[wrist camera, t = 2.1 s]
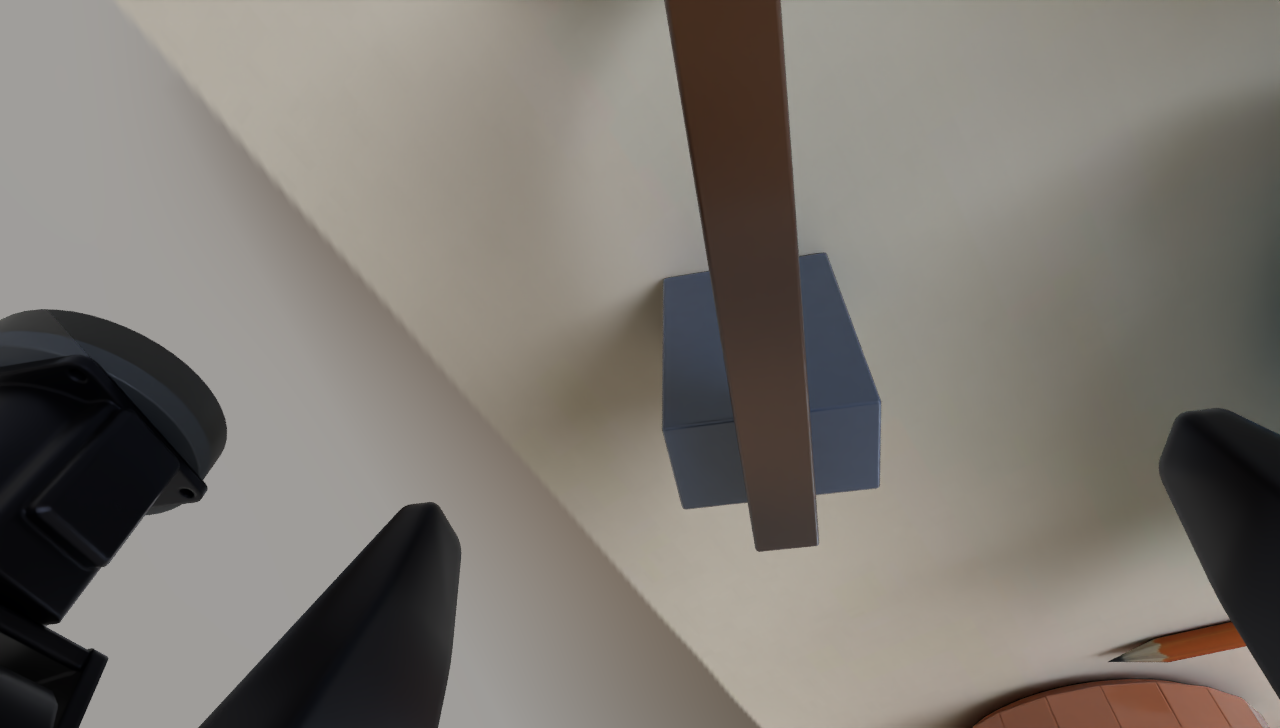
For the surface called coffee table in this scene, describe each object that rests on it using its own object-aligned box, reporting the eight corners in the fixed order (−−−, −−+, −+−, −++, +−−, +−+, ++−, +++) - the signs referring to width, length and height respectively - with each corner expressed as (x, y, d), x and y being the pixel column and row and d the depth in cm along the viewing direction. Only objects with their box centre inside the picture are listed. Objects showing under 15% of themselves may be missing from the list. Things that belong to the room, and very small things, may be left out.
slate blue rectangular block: (678, 352, 18) (682, 511, 14) (662, 277, 17) (661, 429, 13) (829, 330, 18) (880, 489, 14) (826, 250, 16) (882, 401, 12)
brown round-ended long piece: (837, 329, 18) (908, 538, 13) (671, 354, 18) (673, 561, 13) (809, -517, 9) (993, -946, 4) (498, -415, 10) (313, -671, 5)
